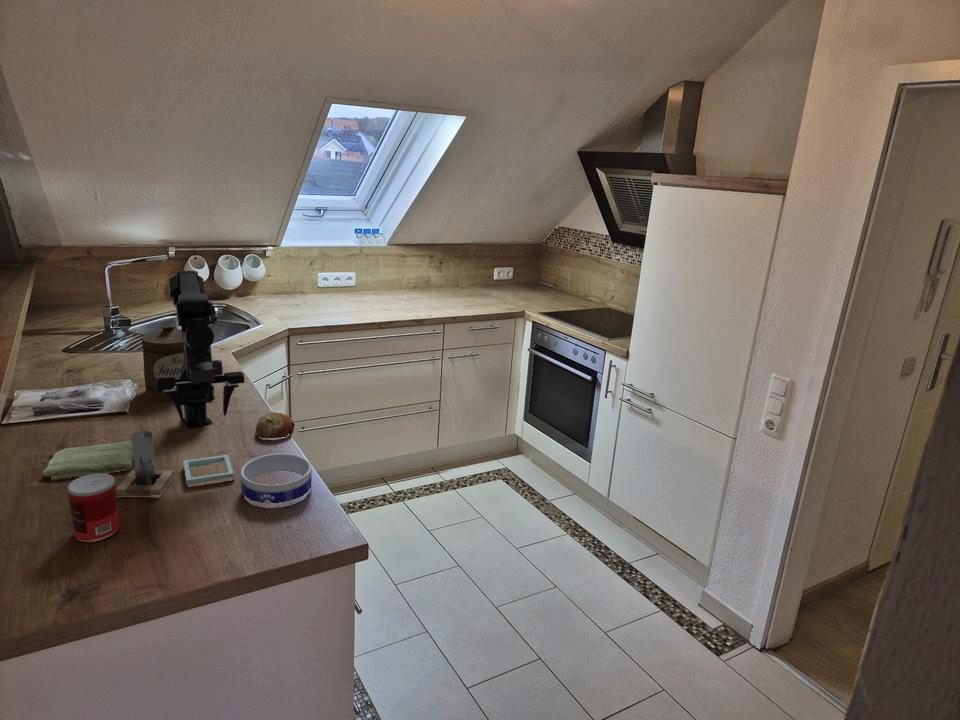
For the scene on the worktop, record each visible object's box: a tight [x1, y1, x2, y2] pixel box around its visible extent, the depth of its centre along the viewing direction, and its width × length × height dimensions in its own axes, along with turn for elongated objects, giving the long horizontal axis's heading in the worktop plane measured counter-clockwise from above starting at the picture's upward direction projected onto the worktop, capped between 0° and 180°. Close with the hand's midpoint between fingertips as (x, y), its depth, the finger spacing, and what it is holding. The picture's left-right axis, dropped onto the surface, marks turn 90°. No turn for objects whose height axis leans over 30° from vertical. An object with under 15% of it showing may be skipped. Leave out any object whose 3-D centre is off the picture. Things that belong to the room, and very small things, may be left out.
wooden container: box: [141, 322, 185, 402], centre depth 192 cm, size 15×15×22 cm
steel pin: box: [130, 430, 156, 485], centre depth 141 cm, size 4×4×13 cm
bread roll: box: [255, 411, 296, 438], centre depth 174 cm, size 10×10×8 cm
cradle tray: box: [182, 454, 235, 485], centre depth 150 cm, size 10×10×2 cm
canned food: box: [67, 473, 121, 540], centre depth 125 cm, size 8×8×11 cm
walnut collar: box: [116, 469, 175, 496], centre depth 143 cm, size 9×9×2 cm
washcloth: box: [43, 440, 134, 481], centre depth 151 cm, size 13×18×3 cm
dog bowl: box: [240, 452, 313, 503], centre depth 145 cm, size 15×15×6 cm
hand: (203, 417), depth 150 cm, fingers open, 9 cm apart
